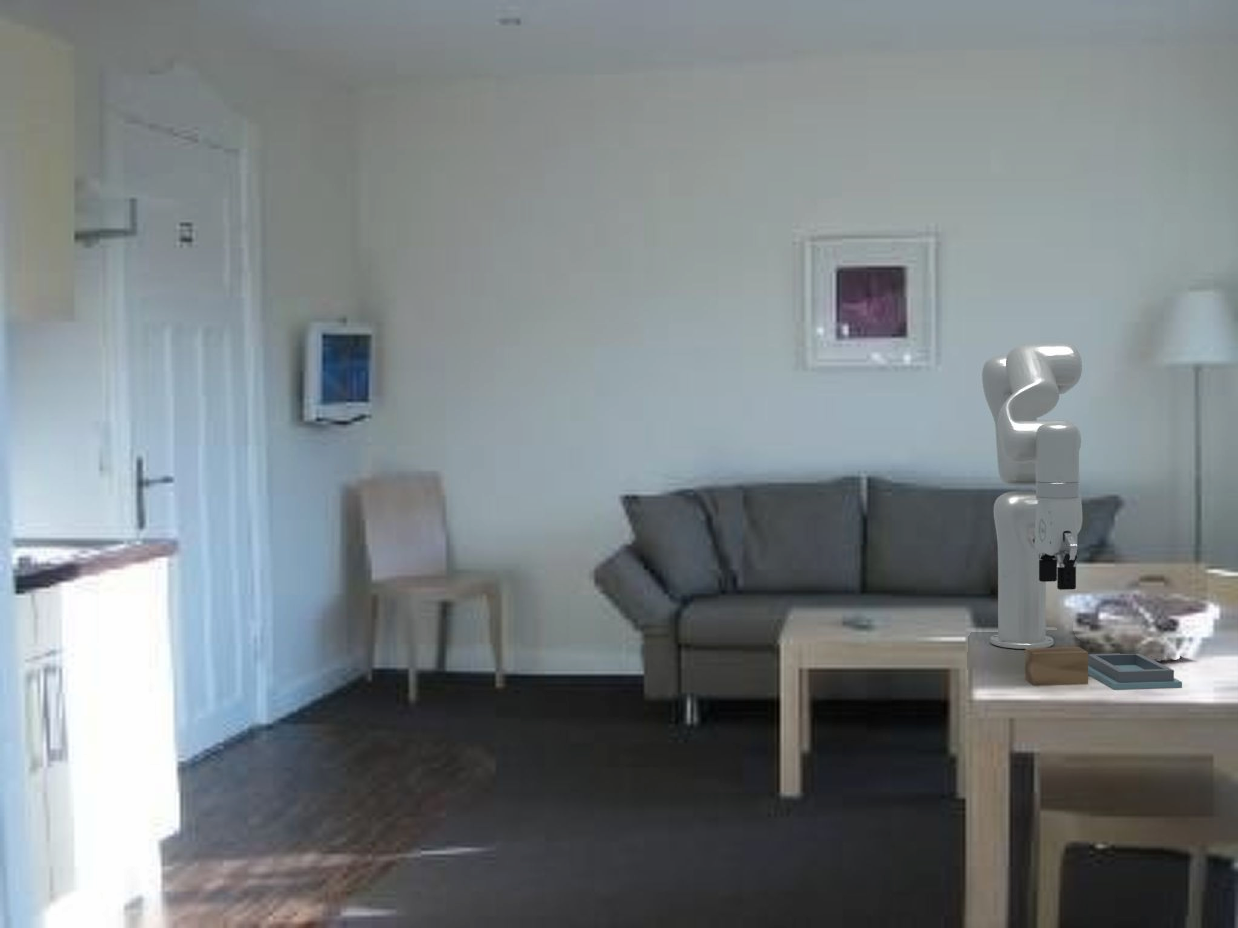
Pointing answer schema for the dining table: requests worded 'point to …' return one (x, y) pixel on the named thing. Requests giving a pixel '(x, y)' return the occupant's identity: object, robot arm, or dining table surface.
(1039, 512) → the robot arm
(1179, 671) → the dining table surface
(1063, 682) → the walnut block
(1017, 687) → the dining table surface
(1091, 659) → the cradle
